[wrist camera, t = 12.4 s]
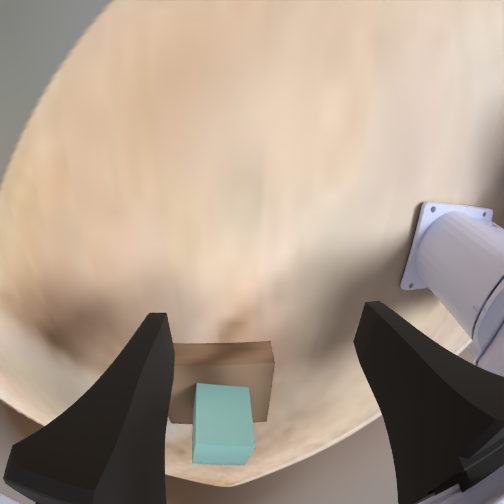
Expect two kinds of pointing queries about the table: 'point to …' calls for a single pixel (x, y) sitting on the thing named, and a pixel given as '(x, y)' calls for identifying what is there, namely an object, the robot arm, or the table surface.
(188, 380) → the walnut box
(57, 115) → the table surface
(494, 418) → the robot arm
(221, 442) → the teal block
